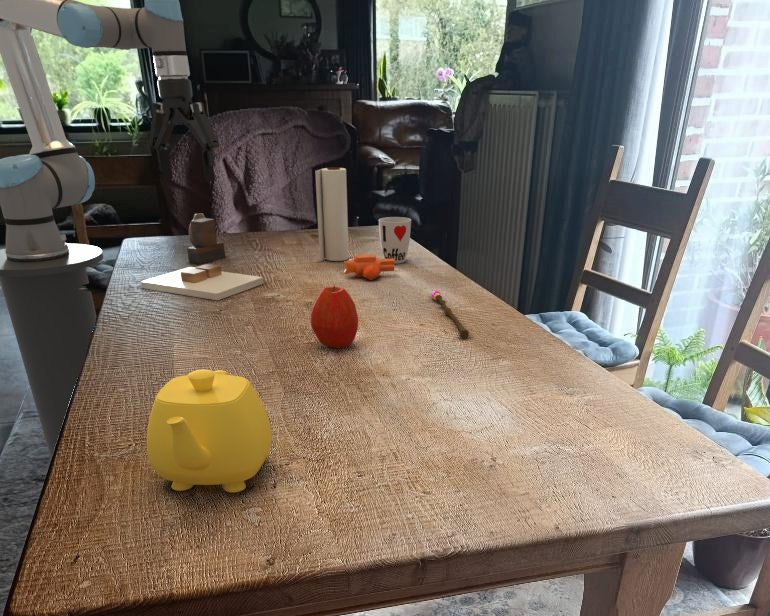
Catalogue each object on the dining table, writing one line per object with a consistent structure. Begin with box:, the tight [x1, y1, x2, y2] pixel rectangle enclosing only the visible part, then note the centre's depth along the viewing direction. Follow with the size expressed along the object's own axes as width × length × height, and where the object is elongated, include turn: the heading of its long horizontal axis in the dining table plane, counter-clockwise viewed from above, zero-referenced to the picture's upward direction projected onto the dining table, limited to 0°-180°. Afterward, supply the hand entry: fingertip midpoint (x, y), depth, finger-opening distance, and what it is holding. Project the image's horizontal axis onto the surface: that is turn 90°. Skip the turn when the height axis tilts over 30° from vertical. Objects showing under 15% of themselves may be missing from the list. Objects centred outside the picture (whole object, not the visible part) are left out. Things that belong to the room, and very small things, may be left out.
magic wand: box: [431, 290, 470, 340], centre depth 140 cm, size 2×2×30 cm
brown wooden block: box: [180, 268, 207, 283], centre depth 159 cm, size 4×4×2 cm
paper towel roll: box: [314, 166, 350, 262], centre depth 178 cm, size 7×6×21 cm
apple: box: [310, 284, 359, 349], centre depth 122 cm, size 8×8×11 cm
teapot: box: [146, 369, 273, 493], centre depth 81 cm, size 14×20×13 cm
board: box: [140, 266, 264, 302], centre depth 161 cm, size 22×16×2 cm
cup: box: [378, 216, 412, 264], centre depth 178 cm, size 8×8×10 cm
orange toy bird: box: [343, 254, 395, 281], centre depth 165 cm, size 5×8×12 cm
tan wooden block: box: [195, 263, 222, 278], centre depth 163 cm, size 4×4×2 cm
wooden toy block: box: [187, 217, 226, 265], centre depth 181 cm, size 4×10×10 cm, turn 151°
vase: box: [188, 212, 206, 247], centre depth 194 cm, size 7×7×9 cm
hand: (188, 180), depth 173 cm, fingers open, 13 cm apart
